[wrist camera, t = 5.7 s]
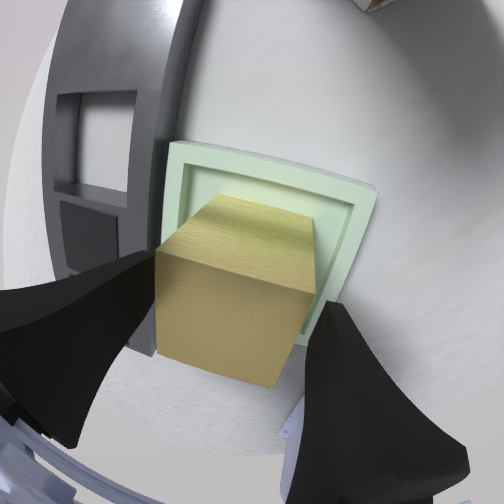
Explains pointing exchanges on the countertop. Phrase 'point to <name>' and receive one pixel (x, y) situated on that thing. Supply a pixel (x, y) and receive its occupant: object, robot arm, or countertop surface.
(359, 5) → the coffee box
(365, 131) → the countertop surface
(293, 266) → the brass cube
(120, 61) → the grey flat long piece
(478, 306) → the countertop surface
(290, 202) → the tray
